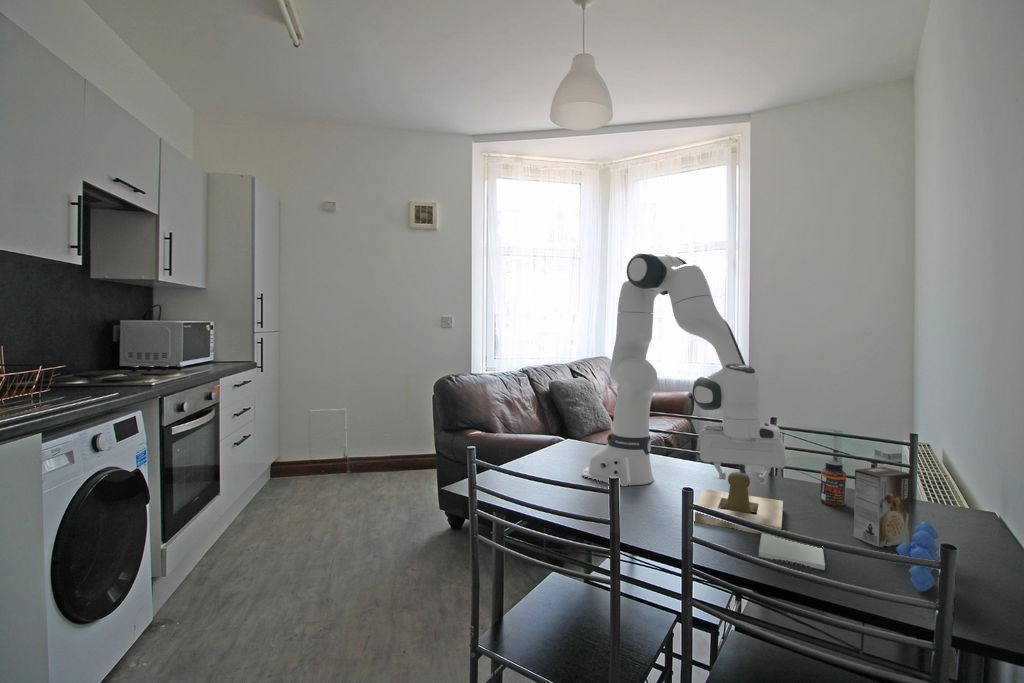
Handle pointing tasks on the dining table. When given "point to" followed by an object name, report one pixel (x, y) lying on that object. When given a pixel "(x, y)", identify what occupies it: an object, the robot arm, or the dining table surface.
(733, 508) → the cork
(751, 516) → the socket plate
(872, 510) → the cookie box
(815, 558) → the pad
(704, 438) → the robot arm
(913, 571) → the grapes
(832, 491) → the supplement bottle
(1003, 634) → the dining table surface
